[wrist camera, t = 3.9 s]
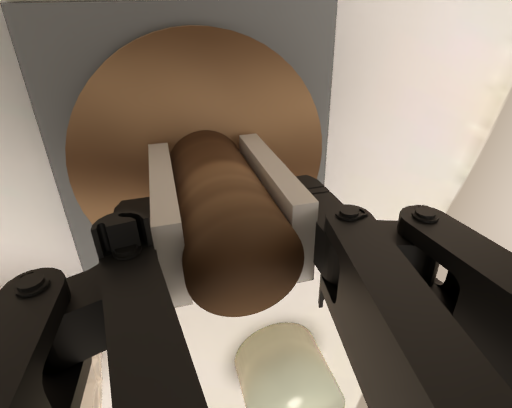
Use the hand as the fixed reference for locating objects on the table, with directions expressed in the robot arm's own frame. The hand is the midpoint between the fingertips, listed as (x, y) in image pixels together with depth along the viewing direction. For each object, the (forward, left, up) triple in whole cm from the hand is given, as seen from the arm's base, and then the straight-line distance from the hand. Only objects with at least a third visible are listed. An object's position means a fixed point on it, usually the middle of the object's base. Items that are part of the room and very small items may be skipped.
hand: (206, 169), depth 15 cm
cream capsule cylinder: (+16, +4, -3) cm, 17 cm away
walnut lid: (0, 0, -1) cm, 1 cm away
